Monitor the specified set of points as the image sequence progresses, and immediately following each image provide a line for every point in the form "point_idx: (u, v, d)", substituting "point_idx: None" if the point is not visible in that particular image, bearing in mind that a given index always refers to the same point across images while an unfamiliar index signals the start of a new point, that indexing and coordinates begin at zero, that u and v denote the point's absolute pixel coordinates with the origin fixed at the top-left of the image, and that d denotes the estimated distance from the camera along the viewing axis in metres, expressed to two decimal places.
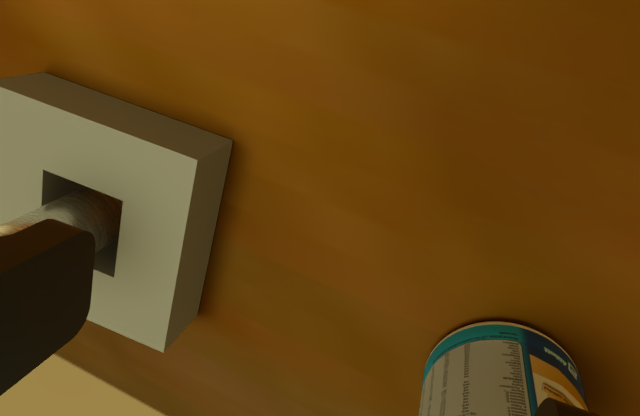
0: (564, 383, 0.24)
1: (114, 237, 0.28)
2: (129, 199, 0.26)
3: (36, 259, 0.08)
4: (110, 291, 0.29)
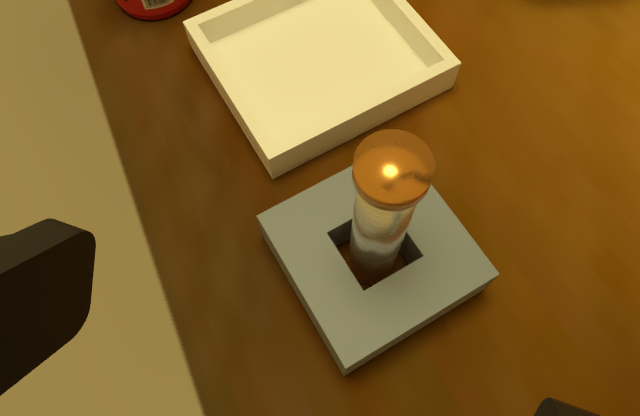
0: None
1: (380, 271, 0.36)
2: (429, 258, 0.35)
3: (36, 259, 0.08)
4: (349, 296, 0.34)
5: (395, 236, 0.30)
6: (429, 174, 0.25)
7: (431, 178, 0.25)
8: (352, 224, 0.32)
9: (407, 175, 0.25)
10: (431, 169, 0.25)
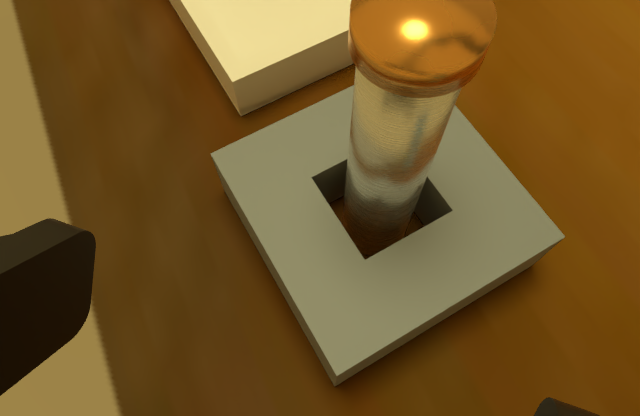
0: None
1: (388, 233, 0.24)
2: (460, 214, 0.24)
3: (36, 259, 0.08)
4: (343, 268, 0.23)
5: (416, 163, 0.19)
6: (487, 27, 0.14)
7: (491, 34, 0.14)
8: (348, 154, 0.21)
9: (447, 28, 0.14)
10: (490, 20, 0.14)
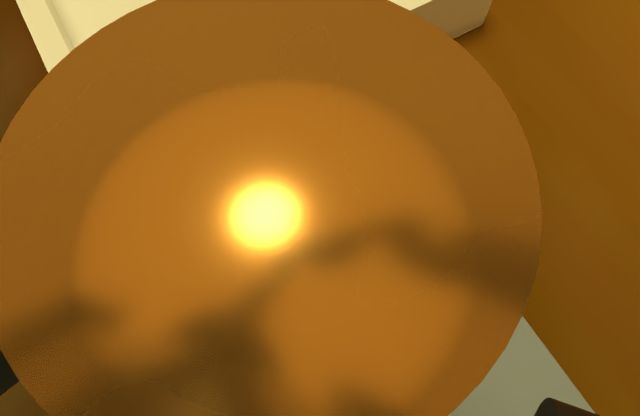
0: None
1: None
2: None
3: None
4: None
5: None
6: (504, 254, 0.03)
7: (521, 286, 0.03)
8: None
9: (343, 256, 0.04)
10: (516, 217, 0.04)
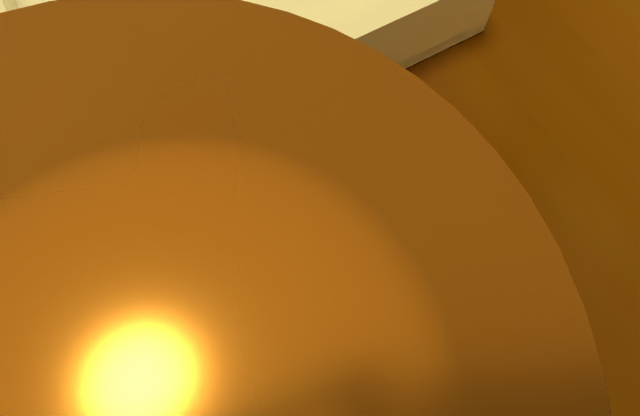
0: None
1: None
2: None
3: None
4: None
5: None
6: None
7: None
8: None
9: None
10: None
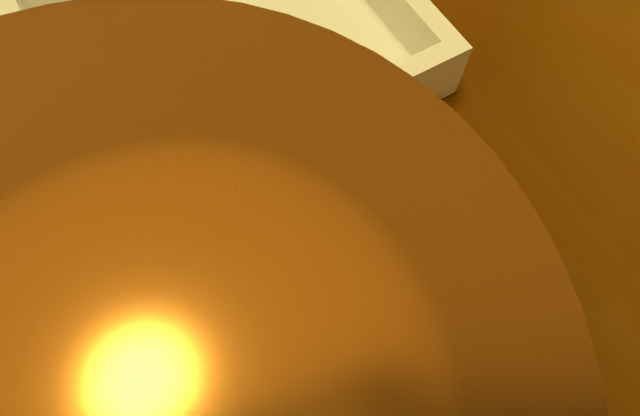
0: None
1: None
2: None
3: None
4: None
5: None
6: None
7: None
8: None
9: None
10: None
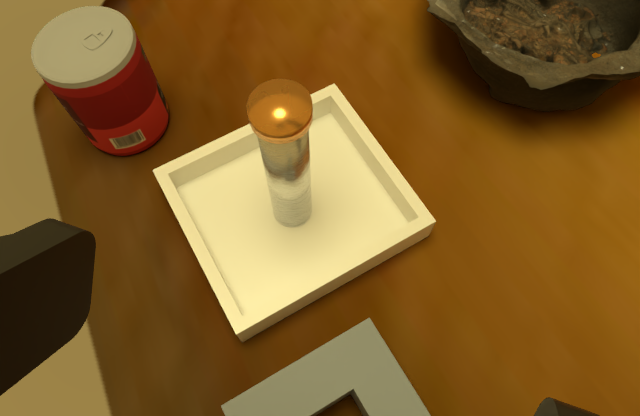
0: None
1: (294, 211, 0.42)
2: None
3: (36, 259, 0.08)
4: None
5: (294, 172, 0.36)
6: (306, 113, 0.31)
7: (308, 116, 0.31)
8: None
9: (288, 113, 0.31)
10: (308, 109, 0.31)
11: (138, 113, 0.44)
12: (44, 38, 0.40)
